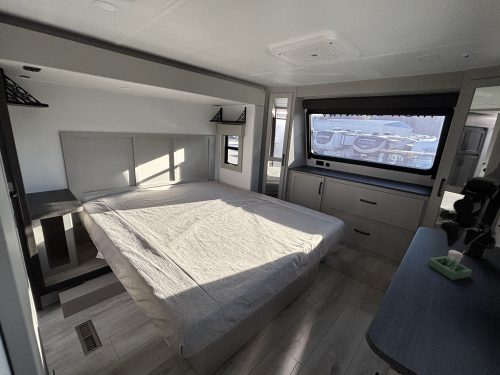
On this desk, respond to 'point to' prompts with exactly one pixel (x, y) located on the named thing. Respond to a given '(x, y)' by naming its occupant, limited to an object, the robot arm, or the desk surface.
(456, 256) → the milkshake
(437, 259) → the green square frame
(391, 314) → the desk surface
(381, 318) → the desk surface
